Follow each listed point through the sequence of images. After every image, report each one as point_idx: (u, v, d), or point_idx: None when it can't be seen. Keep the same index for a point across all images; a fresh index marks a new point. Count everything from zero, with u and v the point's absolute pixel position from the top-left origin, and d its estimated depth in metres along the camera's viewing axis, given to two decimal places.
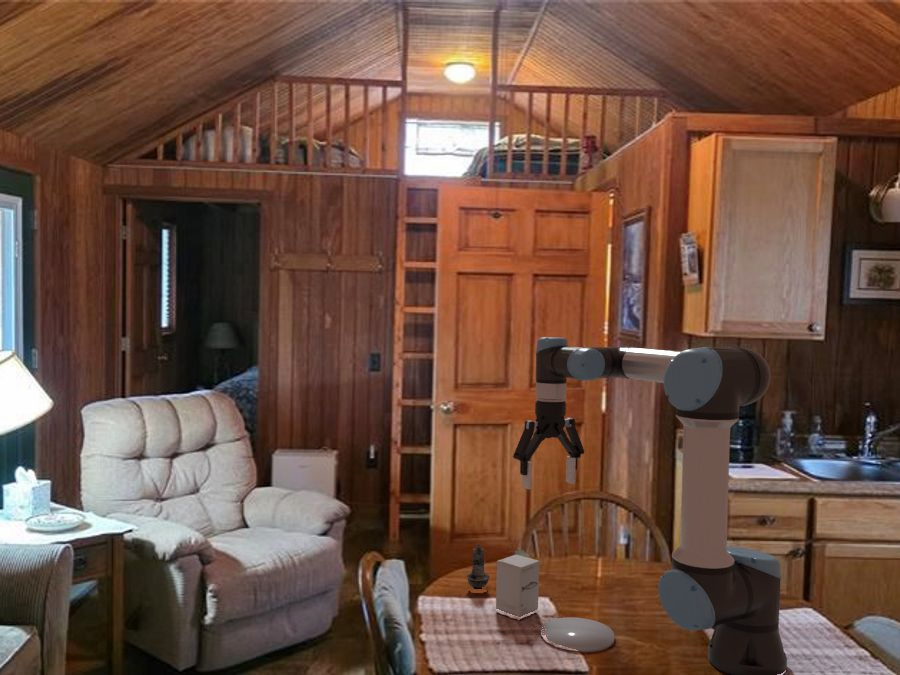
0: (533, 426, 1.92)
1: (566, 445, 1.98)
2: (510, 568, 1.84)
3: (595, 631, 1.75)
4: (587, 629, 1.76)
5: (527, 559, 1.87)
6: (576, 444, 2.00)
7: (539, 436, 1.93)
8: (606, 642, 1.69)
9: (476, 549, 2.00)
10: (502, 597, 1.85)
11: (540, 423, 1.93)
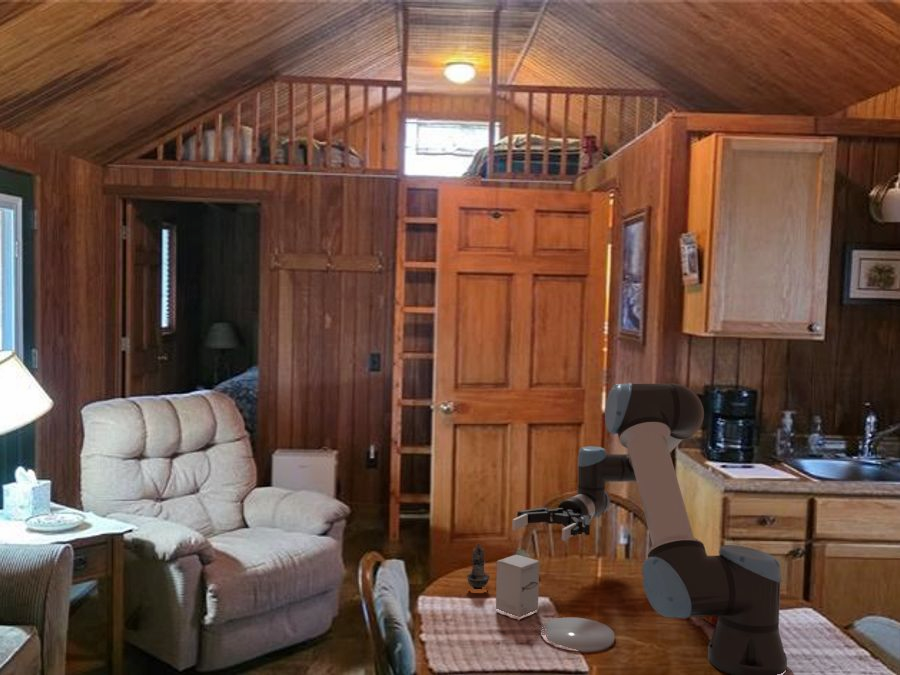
0: (544, 508, 2.10)
1: (573, 522, 2.00)
2: (510, 568, 1.83)
3: (595, 631, 1.75)
4: (587, 629, 1.76)
5: (527, 559, 1.87)
6: (584, 523, 1.98)
7: None
8: (606, 642, 1.69)
9: (476, 549, 2.00)
10: (502, 597, 1.85)
11: None
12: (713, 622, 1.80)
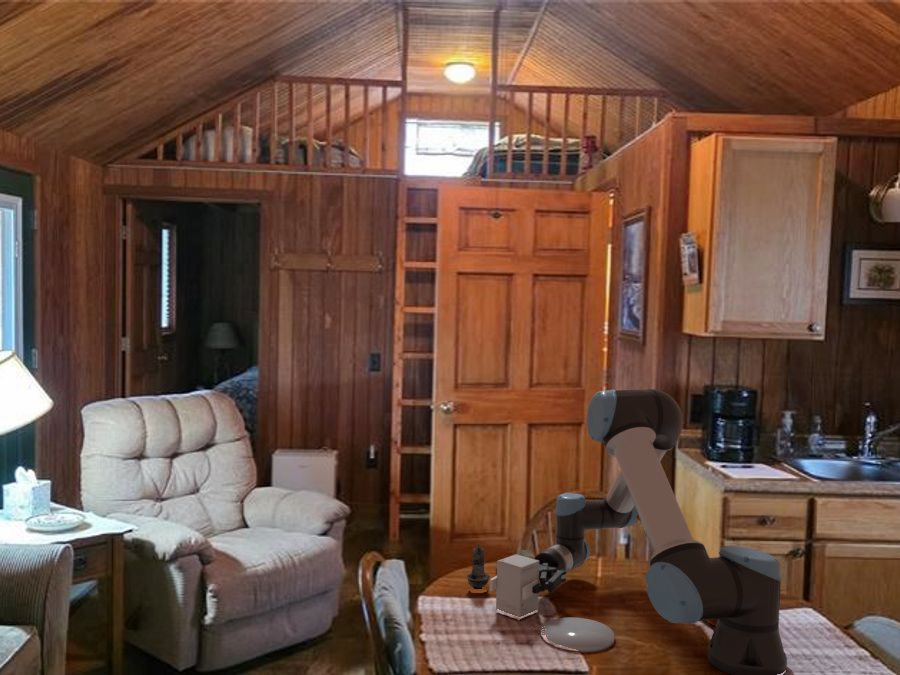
0: None
1: None
2: (510, 568, 1.83)
3: (595, 631, 1.75)
4: (587, 629, 1.76)
5: (527, 559, 1.87)
6: None
7: None
8: (606, 642, 1.69)
9: (476, 549, 2.00)
10: (502, 597, 1.85)
11: None
12: (711, 622, 1.80)
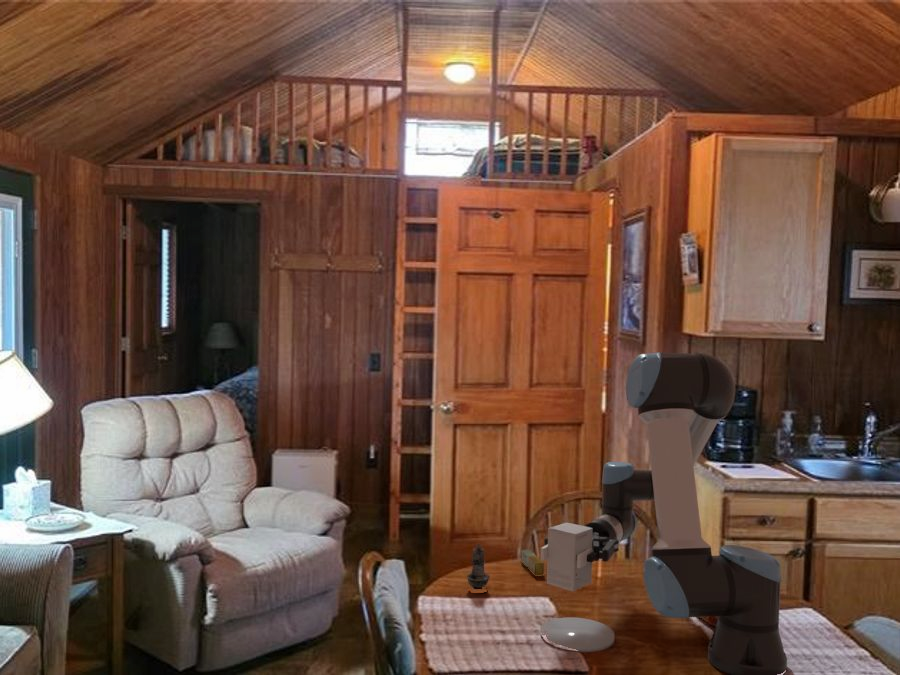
0: None
1: (593, 546, 1.79)
2: (563, 535, 1.73)
3: (595, 631, 1.75)
4: (587, 629, 1.76)
5: (580, 526, 1.77)
6: None
7: None
8: (606, 642, 1.69)
9: (476, 549, 2.00)
10: (554, 567, 1.74)
11: None
12: (710, 621, 1.80)
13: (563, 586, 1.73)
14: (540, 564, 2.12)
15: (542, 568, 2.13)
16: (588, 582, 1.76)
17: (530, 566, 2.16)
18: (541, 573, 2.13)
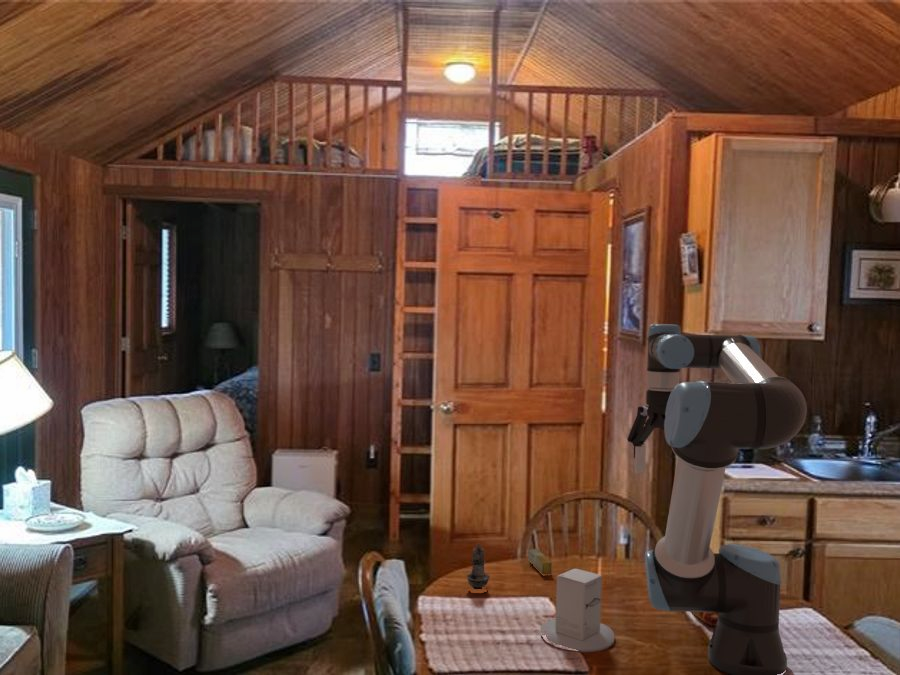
0: (640, 411, 1.93)
1: None
2: (572, 583, 1.71)
3: None
4: None
5: (589, 573, 1.75)
6: None
7: None
8: (606, 642, 1.69)
9: (476, 549, 2.00)
10: (563, 615, 1.72)
11: (647, 410, 1.91)
12: (706, 620, 1.81)
13: (572, 635, 1.71)
14: (547, 564, 2.13)
15: (549, 568, 2.13)
16: (597, 630, 1.74)
17: (538, 566, 2.16)
18: (549, 573, 2.13)
